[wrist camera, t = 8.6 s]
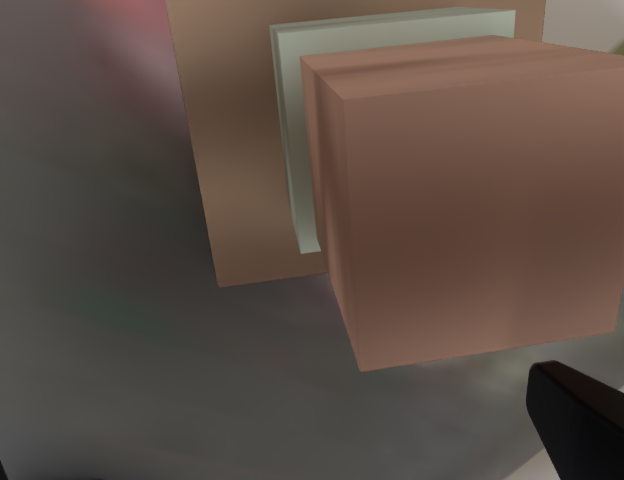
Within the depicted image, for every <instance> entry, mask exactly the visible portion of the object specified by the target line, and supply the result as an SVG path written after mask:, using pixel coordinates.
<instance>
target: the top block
mask: <svg viewBox="0 0 624 480" xmlns="http://www.w3.org/2000/svg"><path fill="white" fill-rule="evenodd" d="M300 65H301V76H302V86H303V97H304V107H305V118H306V128H307V139H308V150H309V160H310V171H311V181H312V192H313V202H314V213H315V223H316V234H317V240H318V243H319V246H320V249H321V252H322V255H323V259H324V262H325V265H326V268H327V271H328V274H329V277H330V280H331V283H332V286H333V289H334V292H335V296H336V299H337V302H338V305H339V308H340V311H341V314H342V317H343V320H344V323H345V326H346V329H347V333H348V336H349V339H350V342H351V345H352V348H353V351H354V354H355V357H356V360H357V363H358V366H359V369H360V372H365V371H371V370H377V369H384V368H390V367H397V366H403V365H409V364H416V363H422V362H429V361H435V360H441V359H448V358H454V357H460V356H467V355H473V354H480V353H486V352H492V351H499V350H505V349H512V348H518V347H524V346H531V345H537V344H543V343H550V342H556V341H563V340H569V339H575V338H582V337H588V336H595V335H601V334H607V333H614V332H615V327H616V322H617V316H618V311H619V306H620V301H621V296H622V290H623V285H624V55H617V54H611V53H605V52H599V51H592V50H586V49H580V48H573V47H567V46H561V45H554V44H548V43H542V42H536V41H529V40H523V39H517V38H511V37H504V36H498V35H489V36H480V37H470V38H461V39H452V40H443V41H434V42H425V43H415V44H406V45H397V46H388V47H379V48H370V49H360V50H351V51H342V52H333V53H324V54H315V55H305V56H300Z"/></svg>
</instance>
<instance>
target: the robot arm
mask: <svg viewBox="0 0 624 480" xmlns="http://www.w3.org/2000/svg"><path fill="white" fill-rule="evenodd" d="M526 406H527V410H528V413H529V416H530V418H531V420H532V422H533V424H534V426H535V428H536V430H537V432H538V434H539V436H540V438H541V440H542V442H543V445H544V447H545V449H546V451H547V453H548V454H549V457H550V459H551V461H552V463H553V465H554V467H555V469H556V471H557V473H558V476H559V478H560V479H561V480H624V393H623V392H621V391H618V390H616V389H614V388H612V387H610V386H608V385H606V384H604V383H602V382H600V381H598V380H596V379H594V378H592V377H589V376H587V375H585V374H583V373H581V372H579V371H577V370H575V369H573V368H571V367H569V366H567V365H565V364H562V363H560V362H558V361H555V360H551V361H544V362H537V363H534V364H532V365H531V367H530V370H529V377H528V386H527V394H526ZM0 480H8V478H7V475H6V473H5V471H4V468H3V466H2V464H1V461H0Z"/></svg>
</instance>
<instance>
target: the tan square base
mask: <svg viewBox="0 0 624 480" xmlns="http://www.w3.org/2000/svg"><path fill="white" fill-rule="evenodd" d="M165 2H166V8H167V13H168V18H169V24H170V29H171V35H172V40H173V45H174V51H175V56H176V62H177V67H178V73H179V78H180V83H181V89H182V94H183V100H184V105H185V110H186V116H187V121H188V127H189V132H190V138H191V143H192V148H193V154H194V159H195V165H196V170H197V175H198V181H199V186H200V192H201V197H202V203H203V208H204V213H205V219H206V224H207V230H208V235H209V240H210V246H211V251H212V257H213V262H214V267H215V273H216V278H217V284H218V288H221V287H228V286H235V285H243V284H250V283H258V282H265V281H272V280H280V279H287V278H294V277H302V276H309V275H317V274H324V273H328V271H327V268H326V265H325V262H324V259H323V255H322V252H321V249H320V246H319V243H318V240H317V234H316V223H315V213H314V202H313V192H312V181H311V171H310V160H309V150H308V139H307V128H306V118H305V107H304V97H303V86H302V76H301V65H300V56H305V55H315V54H324V53H333V52H342V51H351V50H360V49H370V48H379V47H388V46H397V45H406V44H415V43H425V42H434V41H443V40H452V39H461V38H470V37H480V36H489V35H498V36H504V37H511V38H517V39H523V40H529V41H536V42H542V34H543V24H544V14H545V3H546V0H165Z"/></svg>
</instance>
